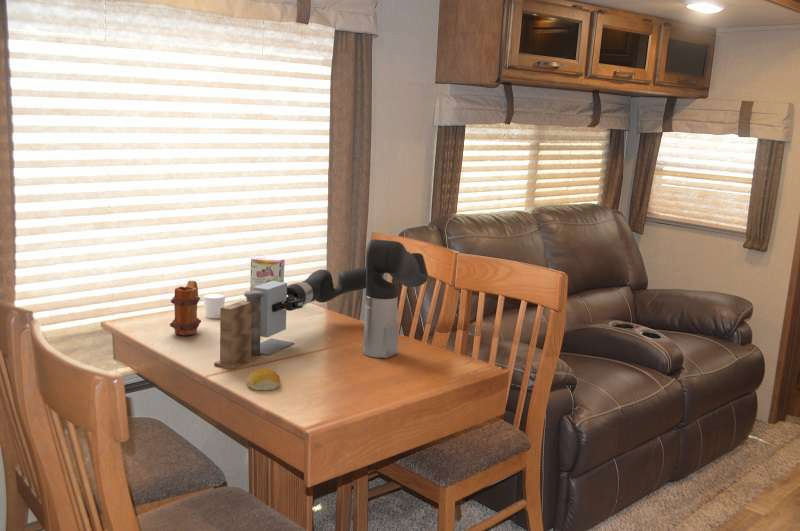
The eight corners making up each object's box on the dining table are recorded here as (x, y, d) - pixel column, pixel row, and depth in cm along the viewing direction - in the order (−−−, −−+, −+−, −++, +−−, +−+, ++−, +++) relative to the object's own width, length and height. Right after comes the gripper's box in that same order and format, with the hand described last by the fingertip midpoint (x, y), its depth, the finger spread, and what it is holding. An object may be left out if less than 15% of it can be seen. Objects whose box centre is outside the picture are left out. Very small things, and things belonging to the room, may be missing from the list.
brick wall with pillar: (249, 350, 215) (250, 289, 211) (267, 354, 212) (268, 292, 209) (214, 365, 200) (214, 300, 197) (232, 369, 198) (233, 303, 194)
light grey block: (285, 329, 222) (286, 283, 219) (266, 337, 213) (267, 289, 210) (271, 326, 224) (272, 280, 221) (252, 334, 215) (252, 287, 212)
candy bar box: (249, 303, 268) (250, 258, 265) (253, 300, 273) (254, 256, 270) (279, 306, 267) (281, 261, 264) (283, 303, 272) (285, 258, 269)
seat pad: (271, 339, 227) (271, 338, 227) (294, 343, 224) (294, 342, 224) (244, 350, 214) (244, 349, 214) (267, 355, 211) (267, 354, 211)
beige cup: (229, 316, 250) (229, 295, 249) (214, 320, 245) (214, 299, 243) (214, 312, 254) (214, 292, 253) (199, 316, 248) (199, 295, 247)
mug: (194, 338, 223) (194, 289, 220) (167, 337, 223) (167, 287, 220) (207, 325, 237) (208, 279, 235) (182, 324, 237) (182, 277, 235)
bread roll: (278, 379, 193) (278, 364, 192) (281, 391, 185) (282, 376, 184) (245, 380, 191) (246, 365, 190) (247, 392, 182) (247, 376, 182)
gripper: (315, 311, 228) (285, 323, 212) (275, 304, 233) (243, 316, 218) (316, 286, 226) (286, 297, 211) (276, 280, 232) (243, 290, 216)
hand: (264, 307), depth 215 cm, fingers closed on light grey block, 5 cm apart
